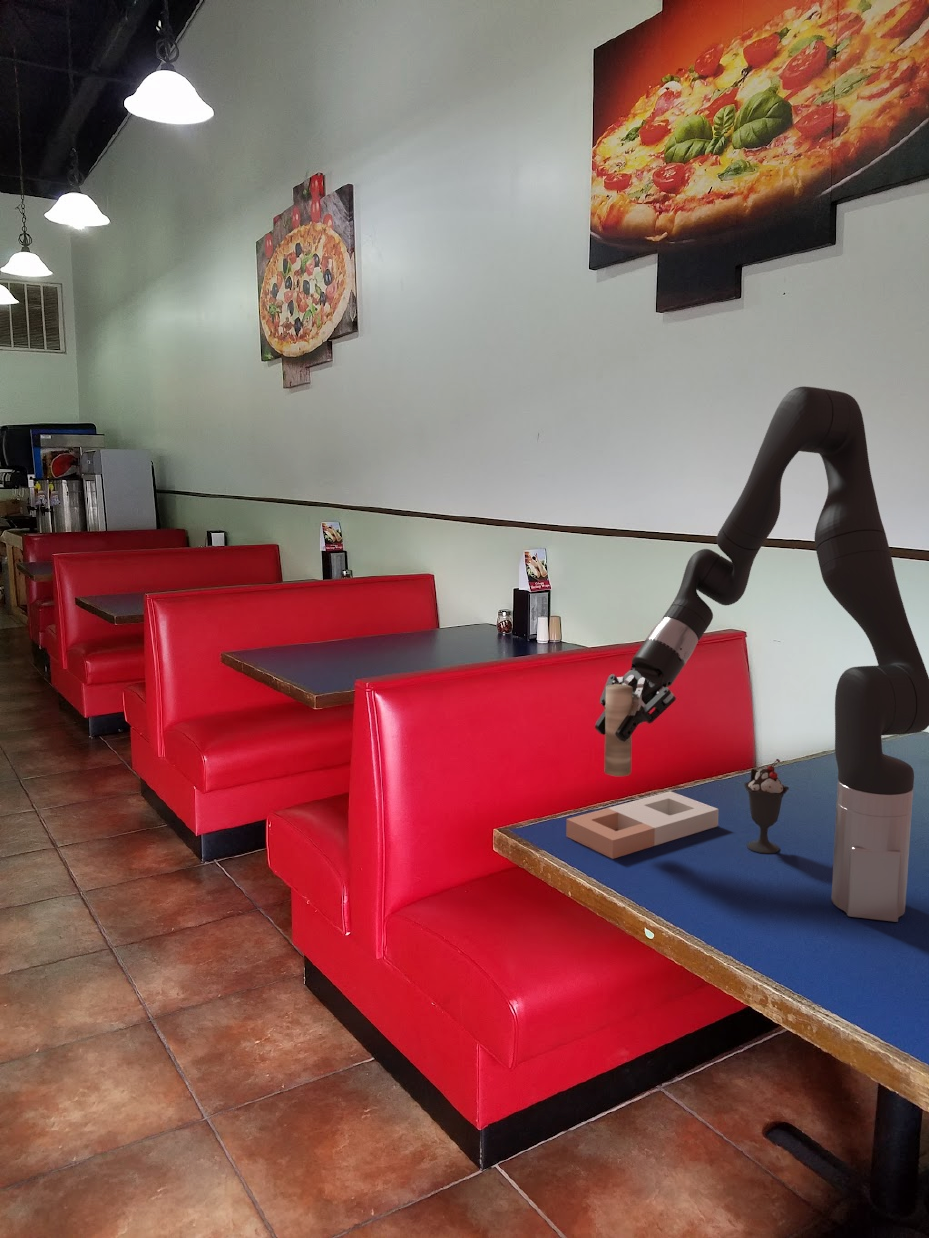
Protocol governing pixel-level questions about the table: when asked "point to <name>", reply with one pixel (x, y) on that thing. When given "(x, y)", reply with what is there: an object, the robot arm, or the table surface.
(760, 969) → the table surface
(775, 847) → the sundae
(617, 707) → the peg
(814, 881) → the table surface
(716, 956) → the table surface
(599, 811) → the dock board
